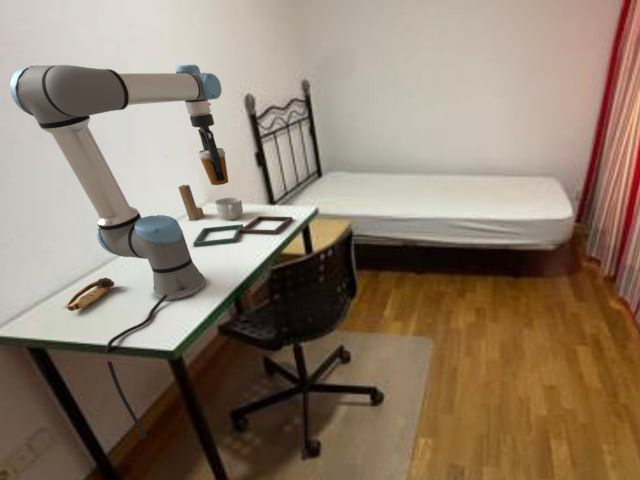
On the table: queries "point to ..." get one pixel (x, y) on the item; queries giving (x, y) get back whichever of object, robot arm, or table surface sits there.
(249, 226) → the right stand
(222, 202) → the teacup
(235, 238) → the left stand
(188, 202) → the wooden block
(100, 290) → the bone fish hook
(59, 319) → the table surface
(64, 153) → the robot arm
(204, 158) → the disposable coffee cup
